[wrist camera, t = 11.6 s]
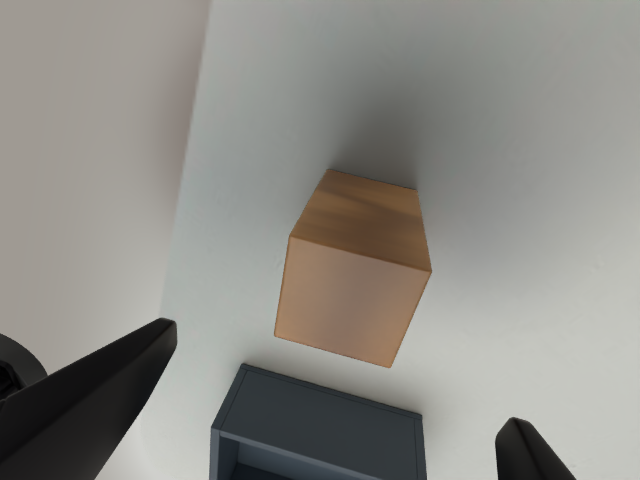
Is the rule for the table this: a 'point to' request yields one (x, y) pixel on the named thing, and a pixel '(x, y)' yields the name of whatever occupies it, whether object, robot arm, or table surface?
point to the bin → (310, 434)
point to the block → (354, 269)
